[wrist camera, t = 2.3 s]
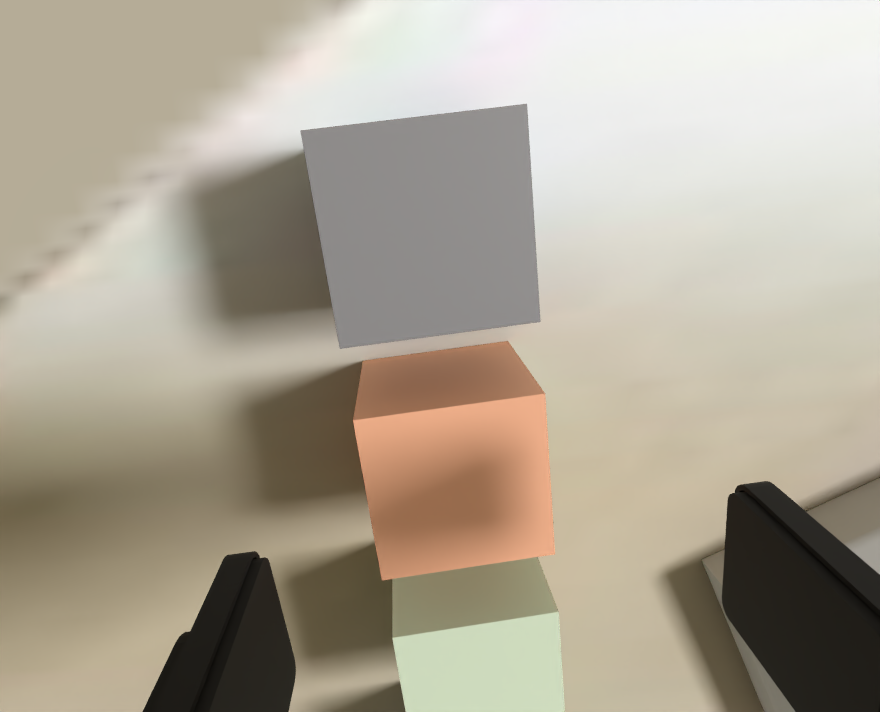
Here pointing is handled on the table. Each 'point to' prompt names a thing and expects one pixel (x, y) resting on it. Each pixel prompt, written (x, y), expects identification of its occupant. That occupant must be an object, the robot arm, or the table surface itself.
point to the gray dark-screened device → (852, 522)
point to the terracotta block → (454, 459)
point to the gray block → (426, 224)
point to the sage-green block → (478, 640)
